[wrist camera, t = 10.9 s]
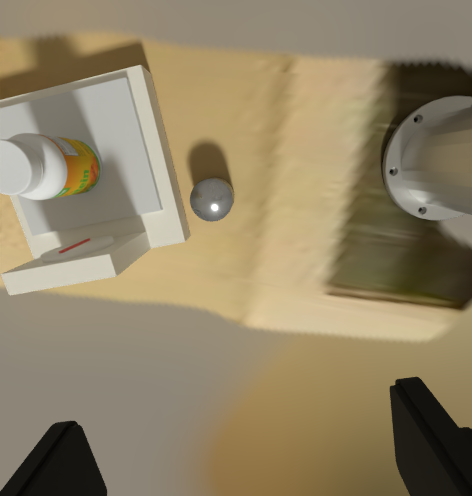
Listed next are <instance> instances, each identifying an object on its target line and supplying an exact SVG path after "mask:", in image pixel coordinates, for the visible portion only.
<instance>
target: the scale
mask: <svg viewBox="0 0 472 496" xmlns="http://www.w3.org/2000/svg"><path fill="white" fill-rule="evenodd" d="M21 133H34V134H41V135H48V136H55V137H62V138H69V139H75V140H79V141H82V142H85V143H86V144H88V145H89V146H91V147H92V148H93V149H94V150H95V152H96V153H97V154H98V156H99V158H100V161H101V164H102V176H101V179H100V181H99V183H98V185H97V186H96V187H95V188H94V189H92V190H91V191H89V192H86V193H82V194H75V195H69V196H63V197H57V198H51V199H45V200H32V199H28V198H25V197H22V196H20V195H10V198H11V201H12V203H13V206H14V208H15V211H16V214H17V216H18V219H19V221H20V224H21V227H22V229H23V232H24V234H25V237H26V239H27V242H28V245H29V247H30V250H31V252H32V255H33V258H34V260H32V261H30V262H28V263H26V264H23V265H21V266H19V267H16V268H14V269H12V270H9V271H7V272H5V273H2V274H1V276H2V279H3V281H4V284H5V286H6V288H7V291H8V293H9V295H15V294H20V293H26V292H32V291H37V290H43V289H48V288H54V287H60V286H65V285H71V284H77V283H82V282H88V281H93V280H99V279H105V278H110V277H116V276H118V275H119V274H120V273H121V272H123V271H124V270H125V269H126V268H127V267H129V266H130V265H131V264H132V263H134V262H135V261H136V260H137V259H138V258H140V257H141V256H142V255H143V254H145V253H146V252H147V251H148V250H150V249H151V248H155V247H160V246H166V245H171V244H177V243H182V242H186V240H187V239H188V238H189V237H190V232H189V228H188V224H187V220H186V216H185V211H184V207H183V203H182V199H181V195H180V191H179V187H178V183H177V179H176V175H175V171H174V166H173V162H172V158H171V154H170V150H169V146H168V142H167V138H166V134H165V130H164V126H163V121H162V117H161V113H160V109H159V105H158V101H157V97H156V93H155V89H154V85H153V80H152V76H151V73H150V72H148V71H147V70H146V69H145V68H144V67H143V66H142V65H137V66H133V67H129V68H125V69H121V70H118V71H114V72H110V73H106V74H102V75H98V76H94V77H90V78H86V79H82V80H78V81H74V82H70V83H66V84H62V85H58V86H54V87H50V88H46V89H42V90H38V91H34V92H30V93H26V94H22V95H18V96H14V97H10V98H6V99H3V100H0V139H4V140H8V139H9V138H11V137H12V136H14V135H17V134H21Z"/></svg>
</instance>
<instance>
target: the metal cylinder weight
mask: <svg viewBox="0 0 472 496" xmlns="http://www.w3.org/2000/svg"><path fill="white" fill-rule="evenodd" d="M233 203H234V191H233V188H232V187H231V185H230V184H229V183H228V182H227V181H226V180H224V179H222V178H217V177H213V178H209V179H205V180H203V181H201V182H199V183H198V184H196V186H195V187H194V188H193V190H192V192H191V196H190V204H191V207H192V209H193V211H194V213H195V214H196V215H197V216H198V217H199V218H201V219H203V220H206V221H218V220H220V219H222V218H224V217H225V216H226V215H227V214H228V213H229V211H230V209H231V207H232V205H233Z"/></svg>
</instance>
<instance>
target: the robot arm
mask: <svg viewBox="0 0 472 496" xmlns="http://www.w3.org/2000/svg"><path fill="white" fill-rule="evenodd" d="M414 118H415V119H416V122H414ZM382 166H383V179H384V183H385V187H386V189H387V191H388V193H389V196H390V197H391V198H392V200H393V201H394V202H395V204H397V205H398V206H399V207H400V208H401V209H402V210H404V211H406V212H407V213H409V214H411V215H413V216H416V217H419V218H423V219H429V220H446V219H452V218H456V217H459V216H461V215H464V214H471V215H472V97H470V96H450V97H444V98H441V99H437V100H434V101H432V102H429V103H427V104H425V105H423V106H421V107H419V108H418V109H416V110H415V111H413V112H412V113H411V114H409V115H408V116H407V117H406V118H405V119H404V120H403V121H402V122H401V123H400V124H399V126H398V127H397V128H396V129H395V131H394V132H393V134H392V136H391V138H390V140H389V141H388V144H387V147H386V150H385V153H384V158H383V164H382ZM390 169H391V170H392V173H391V174H390V173H389V172H390ZM419 208H420V211H418V210H419ZM390 398H391V410H392V422H393V433H394V445H395V456H396V463H397V467H398V470H399V472H400V475H401V477H402V479H403V481H404V483H405V485H406V488H407V490H408V492H409V494H410V496H472V429H470V428H469V427H463V428H459V427H458V426H457V425H456V423H455V422H454V421H453V420H452V418H451V417H450V416H449V415H448V413H447V412H446V411H445V409H444V408H443V407H442V406H441V405H440V403H439V402H438V401H437V399H436V398H435V397H434V395H433V394H432V393H431V392H430V390H429V389H428V388H427V387H426V385H425V384H424V383H423V381H422V380H421V379H420V378H419V377H411V378H404V379H397V380H396V382H395V385H394V386H390ZM0 496H107V489H106V486H105V483H104V481H103V478H102V476H101V473H100V471H99V468H98V466H97V463H96V461H95V458H94V456H93V453H92V451H91V449H90V446H89V443H88V441H87V438H86V436H85V433H84V431H83V428H82V427H81V426H80V425H78V424H77V422H76V421H66V422H58V423H55V424H53V425H52V426H51V427H50V428H49V429H48V431H47V432H46V433H45V435H44V436H43V437H42V439H41V440H40V441H39V442H38V444H37V445H36V446H35V447H34V449H33V450H32V451H31V453H30V454H29V455H28V456H27V458H26V459H25V460H24V462H23V463H22V464H21V466H20V467H19V468H18V470H17V471H16V472H15V473H14V475H13V476H12V477H11V479H10V480H9V481H8V482H7V484H6V485H5V486H4V488H3V489H2V490H1V491H0Z"/></svg>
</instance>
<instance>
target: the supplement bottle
mask: <svg viewBox="0 0 472 496" xmlns="http://www.w3.org/2000/svg"><path fill="white" fill-rule="evenodd" d="M101 176H102V164H101V161H100V158H99V156H98V154H97V153H96V152H95V150H94V149H93V148H92V147H91V146H89V145H88V144H86V143H85V142H82V141H79V140H75V139H69V138H62V137H55V136H48V135H41V134H34V133H21V134H17V135H14V136H12V137H11V138H9V139H8V140H4V139H0V193H2V194H6V195H20V196H22V197H25V198H28V199H32V200H45V199H51V198H57V197H63V196H69V195H75V194H82V193H86V192H89V191H91V190H92V189H94V188H95V187H96V186H97V185H98V183H99V181H100V179H101Z"/></svg>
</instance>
